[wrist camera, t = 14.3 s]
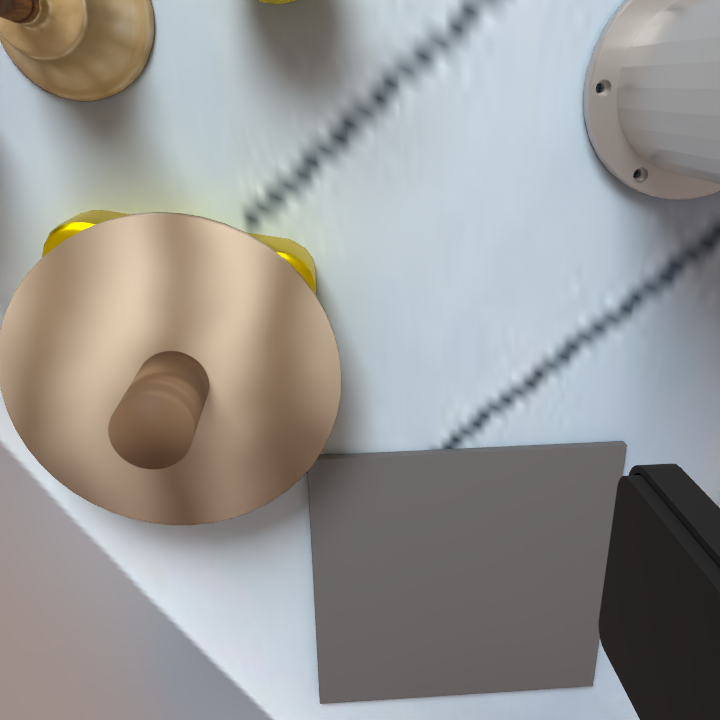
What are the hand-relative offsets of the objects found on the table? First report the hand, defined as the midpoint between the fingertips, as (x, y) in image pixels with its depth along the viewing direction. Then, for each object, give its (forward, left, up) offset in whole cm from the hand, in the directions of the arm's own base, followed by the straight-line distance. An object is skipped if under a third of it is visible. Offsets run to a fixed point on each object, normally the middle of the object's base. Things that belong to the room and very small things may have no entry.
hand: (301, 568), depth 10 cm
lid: (+8, +9, -29) cm, 31 cm away
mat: (-10, +28, -33) cm, 45 cm away
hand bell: (+12, -10, -34) cm, 37 cm away
